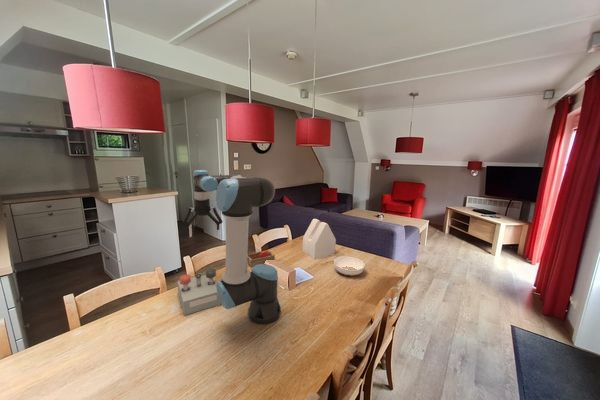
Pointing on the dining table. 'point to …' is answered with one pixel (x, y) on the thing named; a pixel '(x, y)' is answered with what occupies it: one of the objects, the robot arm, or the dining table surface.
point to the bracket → (264, 254)
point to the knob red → (185, 281)
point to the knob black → (211, 275)
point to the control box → (198, 295)
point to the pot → (198, 280)
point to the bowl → (349, 265)
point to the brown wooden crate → (255, 260)
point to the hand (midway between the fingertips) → (203, 236)
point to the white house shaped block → (319, 240)
